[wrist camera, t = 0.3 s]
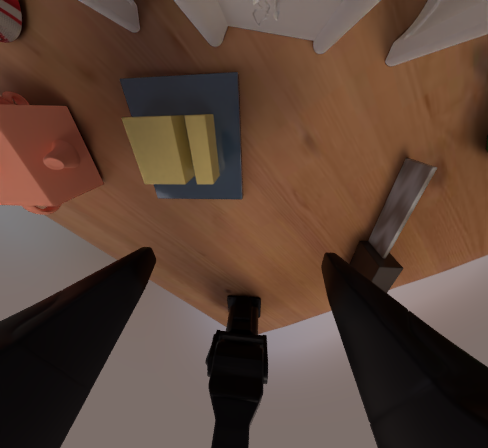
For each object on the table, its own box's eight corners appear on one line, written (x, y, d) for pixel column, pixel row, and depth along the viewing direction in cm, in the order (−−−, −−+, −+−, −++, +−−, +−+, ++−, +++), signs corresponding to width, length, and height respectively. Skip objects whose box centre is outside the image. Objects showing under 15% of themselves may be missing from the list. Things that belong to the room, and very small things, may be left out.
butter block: (195, 175, 20) (185, 184, 18) (158, 175, 21) (144, 184, 18) (184, 115, 17) (170, 115, 15) (141, 116, 17) (120, 117, 15)
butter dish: (243, 196, 22) (242, 199, 21) (161, 195, 23) (158, 198, 22) (238, 73, 16) (237, 71, 15) (126, 80, 17) (118, 78, 16)
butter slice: (220, 175, 20) (213, 184, 18) (204, 175, 20) (196, 184, 18) (213, 114, 17) (204, 114, 14) (195, 114, 17) (183, 115, 14)
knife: (358, 283, 29) (374, 312, 25) (341, 282, 29) (355, 311, 25) (421, 158, 18) (468, 172, 14) (394, 158, 18) (433, 172, 14)
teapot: (-32, 88, 18) (-211, 75, 11) (98, 83, 17) (-14, 64, 10) (41, 193, 25) (-45, 225, 18) (140, 195, 24) (88, 230, 17)
